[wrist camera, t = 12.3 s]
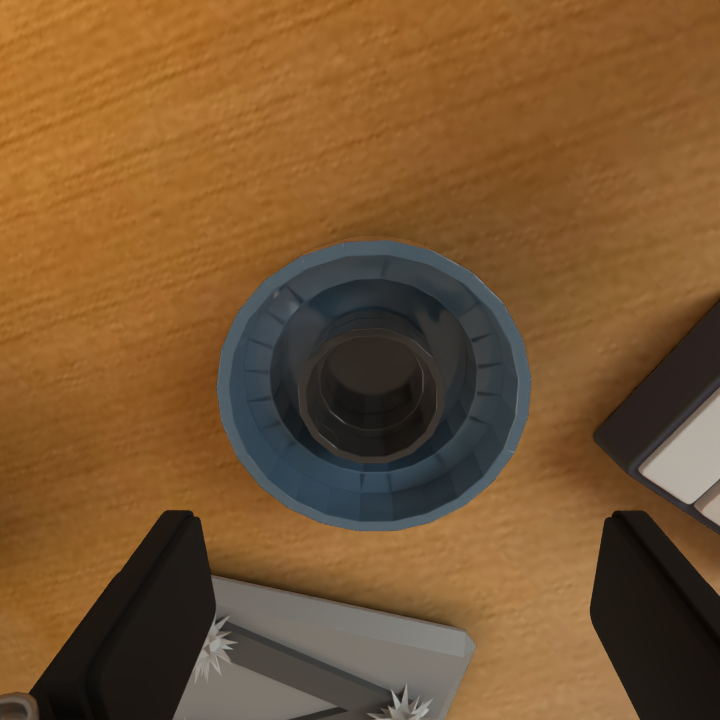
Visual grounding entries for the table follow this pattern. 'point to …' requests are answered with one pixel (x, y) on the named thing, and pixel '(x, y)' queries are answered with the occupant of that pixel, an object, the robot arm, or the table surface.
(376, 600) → the table surface
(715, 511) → the calculator
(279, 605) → the decorative plate
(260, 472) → the blue bowl
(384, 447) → the black bowl
